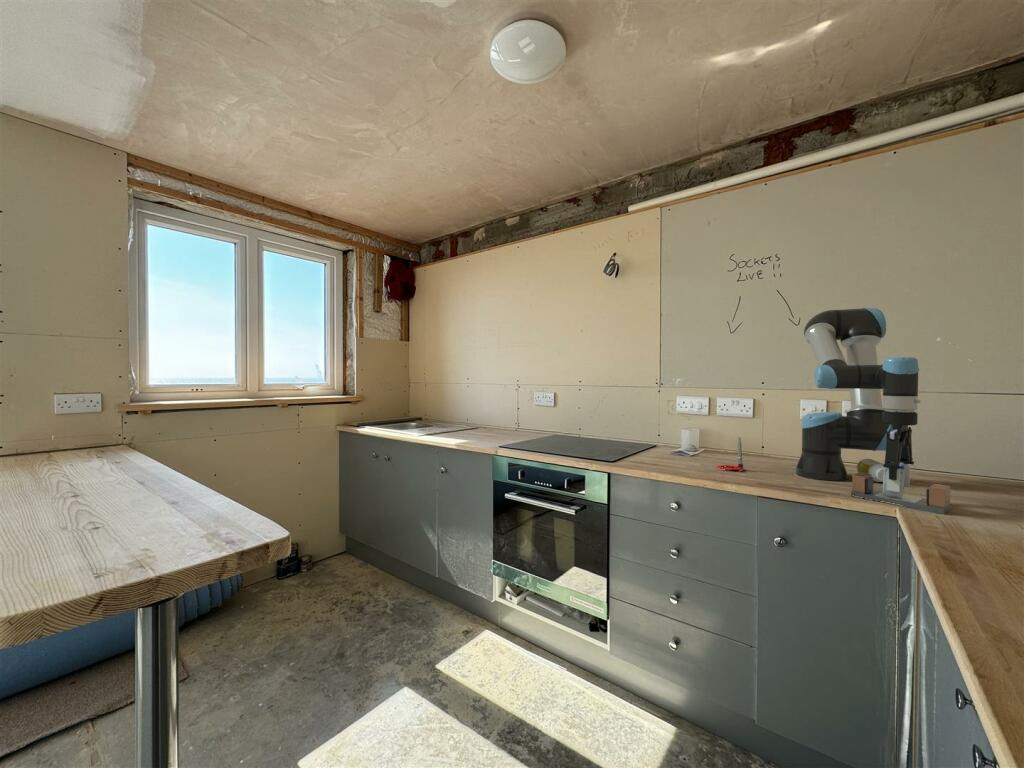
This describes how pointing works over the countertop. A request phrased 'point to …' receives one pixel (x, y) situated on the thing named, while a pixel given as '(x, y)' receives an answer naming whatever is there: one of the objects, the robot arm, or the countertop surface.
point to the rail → (933, 503)
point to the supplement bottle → (871, 469)
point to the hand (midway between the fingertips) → (898, 488)
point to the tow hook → (740, 460)
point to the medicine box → (900, 481)
